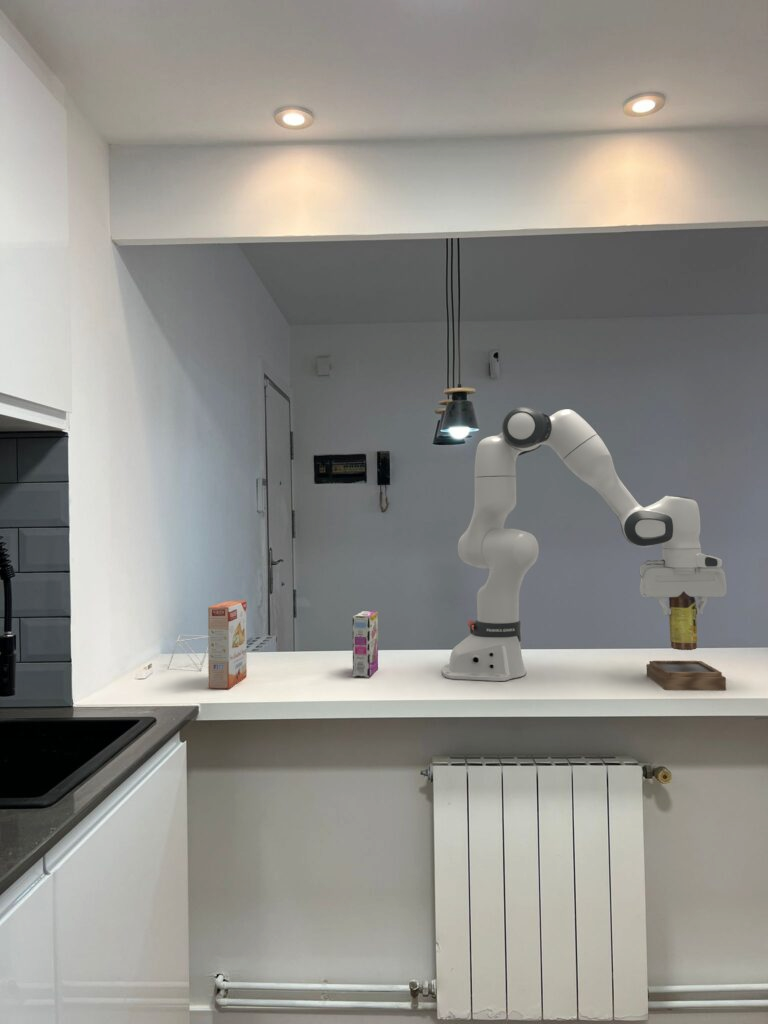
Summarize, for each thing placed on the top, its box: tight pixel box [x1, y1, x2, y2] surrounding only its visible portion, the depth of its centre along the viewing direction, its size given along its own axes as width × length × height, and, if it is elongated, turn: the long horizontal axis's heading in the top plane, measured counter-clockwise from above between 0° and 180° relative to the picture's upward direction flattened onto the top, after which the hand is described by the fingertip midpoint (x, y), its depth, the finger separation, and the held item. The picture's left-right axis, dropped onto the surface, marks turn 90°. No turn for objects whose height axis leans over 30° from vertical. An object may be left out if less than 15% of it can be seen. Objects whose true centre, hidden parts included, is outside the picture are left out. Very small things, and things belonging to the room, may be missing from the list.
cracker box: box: [207, 600, 248, 690], centre depth 180 cm, size 14×6×21 cm, turn 173°
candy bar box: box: [352, 610, 379, 679], centre depth 188 cm, size 11×5×16 cm, turn 168°
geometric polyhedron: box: [167, 634, 208, 672], centre depth 199 cm, size 12×11×9 cm
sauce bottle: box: [668, 591, 698, 651], centre depth 172 cm, size 6×6×20 cm
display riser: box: [645, 660, 727, 691], centre depth 172 cm, size 14×15×4 cm
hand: (683, 615), depth 172 cm, fingers closed on sauce bottle, 6 cm apart
